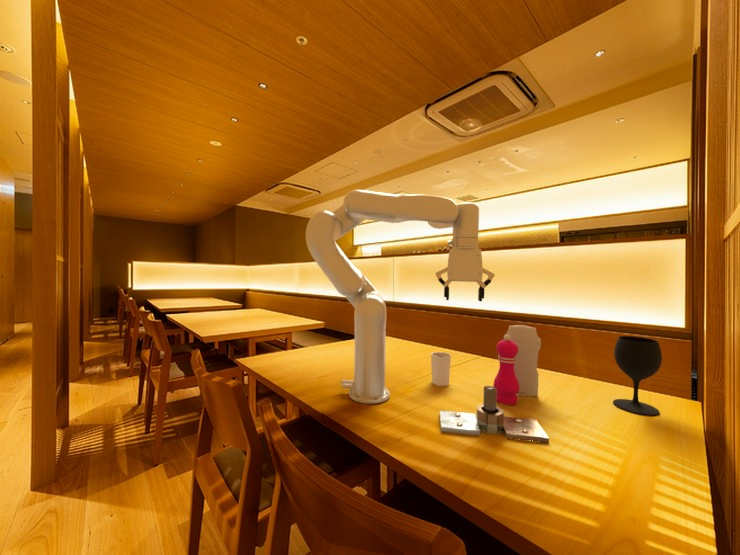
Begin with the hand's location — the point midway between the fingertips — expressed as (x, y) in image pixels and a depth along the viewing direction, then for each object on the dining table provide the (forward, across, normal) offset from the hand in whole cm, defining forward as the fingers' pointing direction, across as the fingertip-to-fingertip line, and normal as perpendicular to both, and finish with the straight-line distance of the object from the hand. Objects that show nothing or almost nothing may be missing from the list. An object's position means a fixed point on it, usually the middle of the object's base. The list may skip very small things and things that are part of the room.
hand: (463, 300), depth 96 cm
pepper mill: (+30, +13, 0) cm, 33 cm away
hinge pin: (+30, +5, -18) cm, 35 cm away
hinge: (+30, +6, -18) cm, 35 cm away
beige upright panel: (+30, +19, +7) cm, 36 cm away
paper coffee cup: (+30, -6, +11) cm, 33 cm away
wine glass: (+30, +49, +4) cm, 58 cm away
